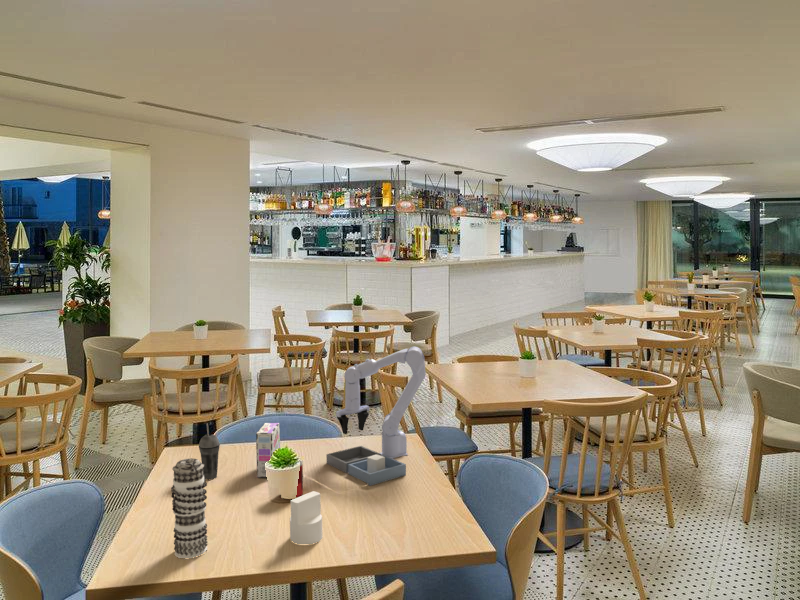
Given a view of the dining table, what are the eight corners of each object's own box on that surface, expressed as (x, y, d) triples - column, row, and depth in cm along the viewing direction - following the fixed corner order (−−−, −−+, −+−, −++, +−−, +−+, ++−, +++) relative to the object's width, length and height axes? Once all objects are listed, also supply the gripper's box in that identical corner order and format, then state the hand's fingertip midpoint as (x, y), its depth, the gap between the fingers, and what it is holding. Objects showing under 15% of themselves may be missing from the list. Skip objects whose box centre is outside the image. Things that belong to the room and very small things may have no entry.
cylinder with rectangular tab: (307, 528, 185) (306, 488, 184) (329, 537, 179) (328, 496, 178) (283, 539, 178) (282, 497, 177) (305, 549, 172) (304, 506, 171)
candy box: (272, 478, 225) (271, 432, 223) (256, 478, 225) (255, 432, 224) (281, 464, 239) (280, 422, 237) (265, 464, 239) (264, 422, 237)
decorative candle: (212, 543, 176) (210, 455, 174) (203, 559, 167) (200, 467, 164) (179, 543, 176) (176, 455, 173) (168, 560, 166) (165, 467, 164)
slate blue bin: (383, 465, 237) (383, 455, 237) (405, 475, 227) (405, 464, 227) (348, 475, 227) (348, 464, 227) (369, 485, 217) (369, 474, 217)
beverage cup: (224, 473, 229) (222, 419, 228) (216, 481, 222) (214, 425, 220) (204, 473, 230) (202, 419, 228) (196, 480, 223) (194, 424, 221)
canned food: (274, 497, 208) (273, 464, 207) (289, 489, 215) (288, 457, 214) (292, 501, 204) (292, 468, 203) (307, 493, 211) (307, 461, 210)
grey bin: (361, 455, 249) (361, 445, 248) (381, 464, 239) (381, 454, 238) (326, 464, 239) (326, 454, 238) (346, 474, 229) (345, 463, 228)
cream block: (376, 470, 231) (375, 454, 230) (385, 473, 228) (385, 457, 227) (367, 473, 227) (367, 457, 227) (376, 476, 224) (376, 460, 224)
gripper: (361, 393, 255) (362, 426, 256) (331, 398, 246) (331, 432, 247) (372, 396, 250) (372, 430, 251) (341, 402, 240) (342, 437, 242)
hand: (353, 431), depth 249 cm, fingers open, 7 cm apart
